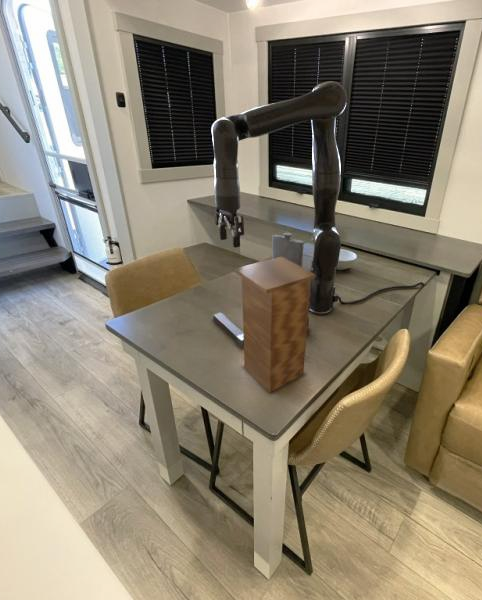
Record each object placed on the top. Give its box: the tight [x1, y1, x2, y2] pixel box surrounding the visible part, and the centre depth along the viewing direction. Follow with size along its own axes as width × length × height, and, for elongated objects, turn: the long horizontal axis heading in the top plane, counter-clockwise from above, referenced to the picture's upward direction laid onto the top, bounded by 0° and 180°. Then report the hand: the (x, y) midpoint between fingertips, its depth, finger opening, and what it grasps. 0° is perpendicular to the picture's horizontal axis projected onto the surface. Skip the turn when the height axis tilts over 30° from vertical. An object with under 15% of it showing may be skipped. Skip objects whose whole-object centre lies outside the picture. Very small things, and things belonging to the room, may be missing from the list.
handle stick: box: [212, 312, 244, 350], centre depth 112 cm, size 4×20×3 cm, turn 41°
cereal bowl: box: [336, 248, 358, 271], centre depth 167 cm, size 17×17×7 cm
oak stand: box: [233, 257, 316, 393], centre depth 90 cm, size 15×14×32 cm
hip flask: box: [271, 232, 305, 268], centre depth 152 cm, size 16×4×20 cm, turn 62°
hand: (229, 243), depth 109 cm, fingers open, 8 cm apart
